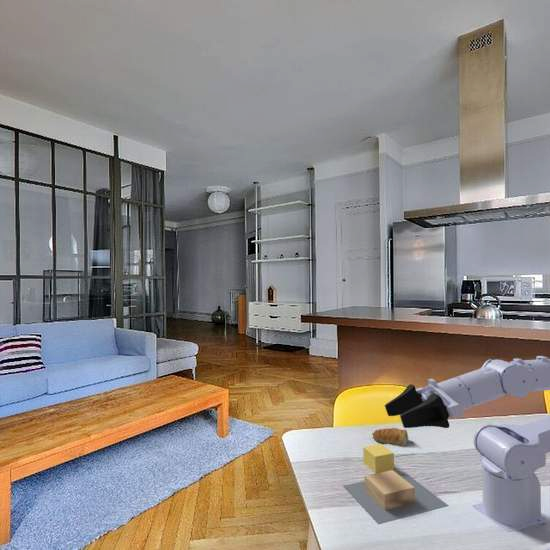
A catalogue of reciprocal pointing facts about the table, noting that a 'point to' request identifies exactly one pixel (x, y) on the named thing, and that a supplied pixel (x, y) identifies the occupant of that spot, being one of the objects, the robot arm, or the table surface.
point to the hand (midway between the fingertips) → (394, 415)
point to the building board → (422, 504)
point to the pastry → (391, 436)
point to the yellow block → (378, 458)
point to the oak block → (389, 489)
